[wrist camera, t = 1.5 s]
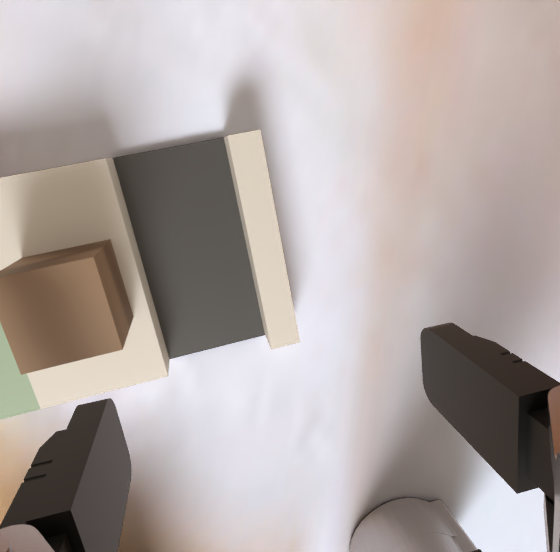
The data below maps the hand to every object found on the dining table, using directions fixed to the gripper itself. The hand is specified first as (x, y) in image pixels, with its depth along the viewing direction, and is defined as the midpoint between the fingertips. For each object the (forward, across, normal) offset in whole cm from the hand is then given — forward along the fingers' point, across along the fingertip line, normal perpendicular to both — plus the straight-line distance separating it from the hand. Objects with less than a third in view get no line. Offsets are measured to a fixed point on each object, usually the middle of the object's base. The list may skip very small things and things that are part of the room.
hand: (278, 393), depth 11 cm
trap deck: (+20, +13, +1) cm, 24 cm away
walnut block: (+17, +9, +1) cm, 19 cm away
